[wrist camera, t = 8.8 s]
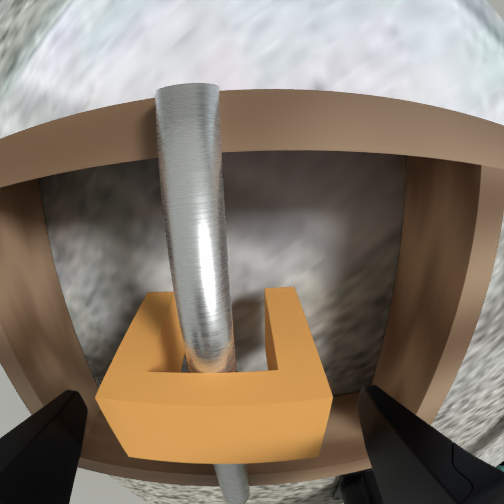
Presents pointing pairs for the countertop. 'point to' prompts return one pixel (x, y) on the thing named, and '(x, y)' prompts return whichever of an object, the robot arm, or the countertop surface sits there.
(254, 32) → the countertop surface
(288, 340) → the orange u-shaped block
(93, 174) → the countertop surface
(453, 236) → the wooden square frame
